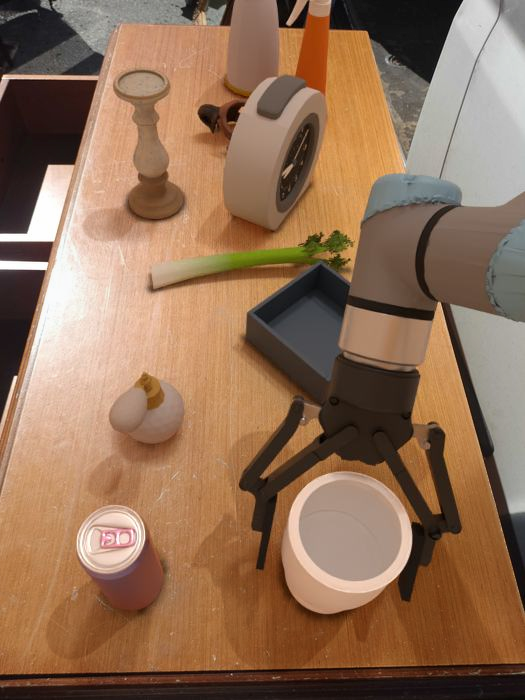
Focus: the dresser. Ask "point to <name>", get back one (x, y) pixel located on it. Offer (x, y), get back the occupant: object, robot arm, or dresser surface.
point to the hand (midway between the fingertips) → (331, 577)
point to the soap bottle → (252, 45)
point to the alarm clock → (273, 150)
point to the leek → (251, 259)
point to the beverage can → (120, 556)
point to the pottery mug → (221, 116)
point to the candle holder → (149, 144)
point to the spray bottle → (313, 43)
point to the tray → (303, 327)
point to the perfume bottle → (148, 410)
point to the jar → (344, 542)
